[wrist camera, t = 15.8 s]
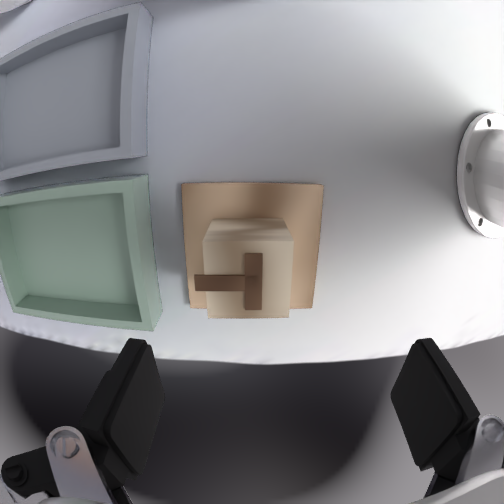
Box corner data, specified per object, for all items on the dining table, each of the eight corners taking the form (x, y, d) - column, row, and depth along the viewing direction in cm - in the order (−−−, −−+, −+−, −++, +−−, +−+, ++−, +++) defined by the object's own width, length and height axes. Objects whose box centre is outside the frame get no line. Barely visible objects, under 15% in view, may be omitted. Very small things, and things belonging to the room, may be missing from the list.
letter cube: (282, 218, 20) (294, 242, 15) (280, 281, 22) (288, 318, 17) (204, 218, 20) (191, 242, 15) (207, 281, 22) (198, 319, 17)
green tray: (147, 174, 19) (132, 179, 17) (162, 311, 24) (153, 331, 21) (4, 193, 19) (-15, 200, 16) (28, 298, 23) (13, 312, 20)
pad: (321, 184, 20) (323, 185, 19) (310, 304, 24) (311, 308, 23) (183, 183, 20) (181, 184, 19) (191, 304, 23) (190, 308, 23)
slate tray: (153, 17, 15) (140, 1, 12) (147, 155, 19) (131, 157, 16) (6, 69, 14) (-13, 67, 12) (3, 179, 19) (-17, 185, 16)
